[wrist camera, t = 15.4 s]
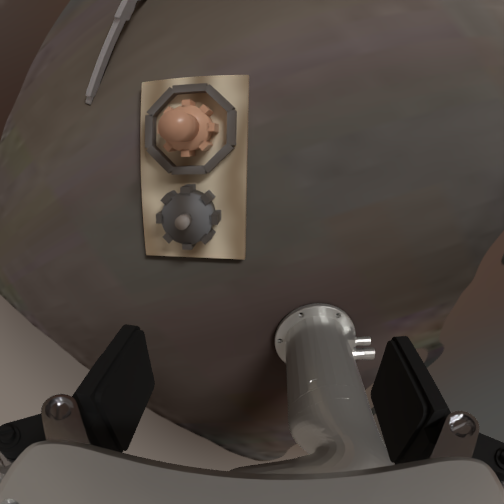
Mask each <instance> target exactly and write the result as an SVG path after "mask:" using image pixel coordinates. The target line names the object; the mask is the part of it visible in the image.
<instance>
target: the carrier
mask: <svg viewBox="0 0 504 504" xmlns="http://www.w3.org/2000/svg"><path fill="white" fill-rule="evenodd" d="M188 99H190V100H192V101H194V102H196V107H198V108H200V107H201V106H202V105H203V104H204V105H206V106H207V107H209V108H210V109H211V110H212V111H213V112H214V113H213V114H212V115H211V116H210V117H211V119H212V122H213V123H216V124H219V132H213V135H212V137H211V139H210V142H211V143H212V144H213V146H212V147H211V148H210V149H209V150H207V151H202V150H201V149H198V150H195V156H190V157H181V151H178V150H176V151H173V152H168V151H167V150H166V149H165V148H164V147H163V145H164V144H165V143H166V141H165V139H163V138H162V137H161V136H160V134H157V133H158V122H159V120H160V118H161V116H162V115H163V114H164V113H163V112H164V111H165V110H166V109H167V107H168V106H170V107H172V108H176V107H179V106H182V100H188ZM248 106H249V75H220V76H200V77H186V78H175V79H165V80H157V81H149V82H142V92H141V130H140V149H141V188H142V208H143V223H144V236H145V247H146V255H156V256H177V257H199V258H222V259H245V256H246V200H247V151H248Z"/></svg>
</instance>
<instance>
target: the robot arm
mask: <svg viewBox="0 0 504 504" xmlns="http://www.w3.org/2000/svg"><path fill="white" fill-rule="evenodd" d="M301 312H302V313H301ZM337 313H338V314H337ZM370 344H371V338H370V337H356V336H355V328H354V325H353V322H352V320H351V319H350V317H349V316H348V315H347V314H346V313H345V312H344V311H343V310H341V309H340V308H338V307H336V306H333V305H329V304H321V303H316V304H309V305H305V306H302V307H299V308H297V309H295V310H293V311H292V312H291V313H289V314H288V315H287V316H286V317H285V318H284V319H283V320H282V321H281V323H280V324H279V326H278V328H277V330H276V333H275V348H276V352H277V354H278V356H279V357H280V358H281V359H282V361H283V362H285V363H286V372H287V395H288V423H289V429H290V432H291V435H292V436H293V438H294V440H295V441H296V443H297V444H298V445H300V447H301V448H302V449H303V450H305V451H306V452H307V453H309V454H310V455H306V456H302V457H298V458H296V459H290V460H284V461H278V462H272V463H264V464H258V465H250V466H244V467H239V468H235V469H233V470H230V471H219V470H210V469H202V468H195V467H188V466H182V465H176V464H171V463H166V462H160V461H156V460H151V459H146V458H142V457H137V456H133V455H129V454H125V453H122V452H123V450H124V451H126V450H127V449H128V447H129V444H130V442H131V440H132V438H133V435H134V433H135V431H136V428H137V426H138V423H139V421H140V419H141V416H142V414H143V412H144V410H145V407H146V405H147V403H148V400H149V398H150V396H151V394H152V391H153V389H154V384H155V383H154V377H153V372H152V368H151V364H150V359H149V354H148V350H147V345H146V340H145V334H144V332H143V331H142V330H140V328H139V327H138V326H133V325H124V326H123V327H122V328H121V329H120V331H119V332H118V333H117V335H116V336H115V337H114V339H113V340H112V342H111V343H110V344H109V346H108V347H107V348H106V350H105V351H104V353H103V354H102V355H101V356H100V357H99V359H98V360H97V361H96V363H95V364H94V366H93V367H92V368H91V370H90V371H89V373H88V375H87V376H86V377H85V378H84V380H83V381H82V383H81V384H80V386H79V387H78V389H77V390H76V392H75V393H74V394H73V396H72V397H71V396H69V395H65V394H58V395H54V396H51V397H50V398H48V399H47V400H46V401H45V402H44V403H43V405H42V408H41V414H38V415H35V416H31V417H28V418H24V419H21V420H17V421H13V422H10V423H6V424H4V425H2V426H0V504H504V443H503V442H500V441H498V440H495V439H493V438H491V437H488V436H486V435H483V434H481V433H479V424H478V421H477V420H476V418H475V417H474V416H472V415H471V414H469V413H467V412H463V411H455V412H453V413H451V412H450V410H449V408H448V406H447V404H446V403H445V400H444V399H443V397H442V395H441V393H440V391H439V389H438V388H437V386H436V384H435V382H434V380H433V379H432V377H431V375H430V373H429V372H428V370H427V368H426V366H425V365H424V363H423V361H422V359H421V358H420V356H419V354H418V353H417V351H416V349H415V348H414V346H413V344H412V343H411V341H410V339H409V338H408V337H407V336H401V337H393V338H392V340H391V341H388V343H387V345H386V349H385V352H384V355H383V358H382V361H381V364H380V367H379V370H378V373H377V376H376V379H375V382H374V384H373V387H372V390H371V399H372V402H373V405H374V408H375V411H376V414H377V418H378V421H379V424H380V427H381V431H382V434H383V437H384V441H385V444H386V447H385V445H384V443H383V441H382V438H381V436H380V434H379V431H378V429H377V426H376V423H375V421H374V418H373V415H372V412H371V408H370V405H369V402H368V399H367V395H366V392H365V389H364V386H363V383H362V380H361V377H360V374H359V371H358V368H357V365H356V362H355V360H358V359H362V360H373V359H374V357H375V350H374V348H362V349H356V348H355V347H356V345H362V346H366V345H370ZM386 448H387V449H386ZM394 463H395V464H394Z"/></svg>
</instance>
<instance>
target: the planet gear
mask: <svg viewBox="0 0 504 504" xmlns="http://www.w3.org/2000/svg"><path fill="white" fill-rule="evenodd" d="M163 113H164V114H163V115H162V116H161V118H160V120H159V122H158V133H157V134H160V136H161V137H162V138H163V139H165V141H166V143H165V144H164V145H163V147H164V148H165V149H166V150H167V151H168V152H173V151H176V150H178V151H181V157H190V156H195V150H198V149H201V150H202V151H207V150H209V149H210V148H211V147H212V146H213V144H212V143H211V142H210V139H211V137H212V135H213V132H219V124H216V123H213V122H212V119H211V117H210V116H211V115H212V114H213V113H214V112H213V111H212V110H211V109H210V108H209V107H207V106H206V105H204V104H203V105H202V106H201V107H200V108H198V107H196V102H194V101H192V100H190V99H188V100H182V106H179V107H176V108H172V107H170V106H168V107H167V109H166V110H165V111H164V112H163Z"/></svg>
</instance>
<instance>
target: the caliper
mask: <svg viewBox="0 0 504 504" xmlns="http://www.w3.org/2000/svg"><path fill="white" fill-rule="evenodd" d="M137 1H139V0H122V2H121V4H120V6H119V8H118V10H117V12H116V14H115V16H114V17H115V20H114V22H113V24H112V27H111V29H110V31H109V33H108V36H107V38H106V40H105V43H104V45H103V47H102V50H101V52H100V55H99V58H98V60H97V63H96V65H95V68H94V71H93V74H92V77H91V80H90V83H89V86H88V89H87V92H86V95H87V98H86V103H87V104H90V105H91V103H92V100H93V97H94V96H95V94H96V92H97V90H98V87H99V85H100V82H101V79H102V76H103V74H104V71H105V68H106V65H107V63H108V60H109V58H110V55H111V53H112V50H113V48H114V46H115V43H116V41H117V39H118V36H119V34H120V32H121V30H122V28H123V25H124V23H125V21H126V20H128V21H129V20H130V17H131V14H132V13H133V11H134V8H135V4H136V2H137Z"/></svg>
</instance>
